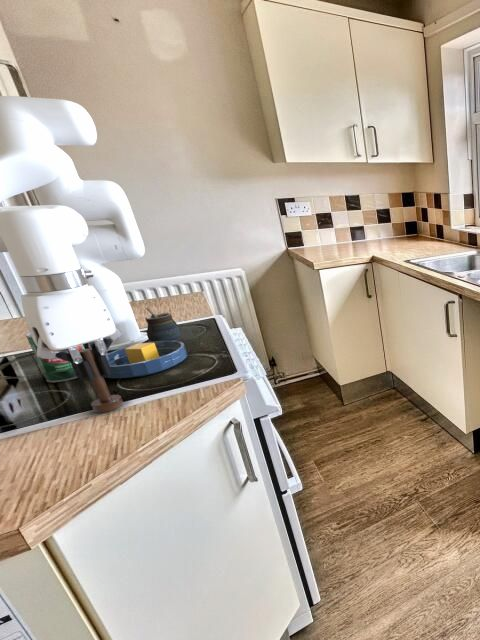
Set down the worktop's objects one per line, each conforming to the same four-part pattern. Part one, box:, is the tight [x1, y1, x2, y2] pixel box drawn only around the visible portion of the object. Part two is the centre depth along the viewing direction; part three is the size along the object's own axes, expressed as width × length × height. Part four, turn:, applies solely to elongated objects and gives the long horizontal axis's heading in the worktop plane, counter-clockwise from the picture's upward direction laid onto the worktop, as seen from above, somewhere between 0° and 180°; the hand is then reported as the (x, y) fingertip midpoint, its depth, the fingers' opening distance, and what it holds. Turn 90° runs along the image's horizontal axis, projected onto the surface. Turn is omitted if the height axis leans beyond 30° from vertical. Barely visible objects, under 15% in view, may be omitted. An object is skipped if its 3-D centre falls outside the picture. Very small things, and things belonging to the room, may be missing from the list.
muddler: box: [79, 348, 124, 413], centre depth 80 cm, size 4×4×12 cm
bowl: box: [103, 340, 188, 379], centre depth 101 cm, size 16×16×4 cm
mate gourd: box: [144, 307, 182, 342], centre depth 114 cm, size 7×8×10 cm
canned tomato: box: [25, 332, 86, 383], centre depth 96 cm, size 8×8×11 cm
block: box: [125, 342, 159, 364], centre depth 102 cm, size 4×4×4 cm
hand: (96, 376), depth 80 cm, fingers closed on muddler
